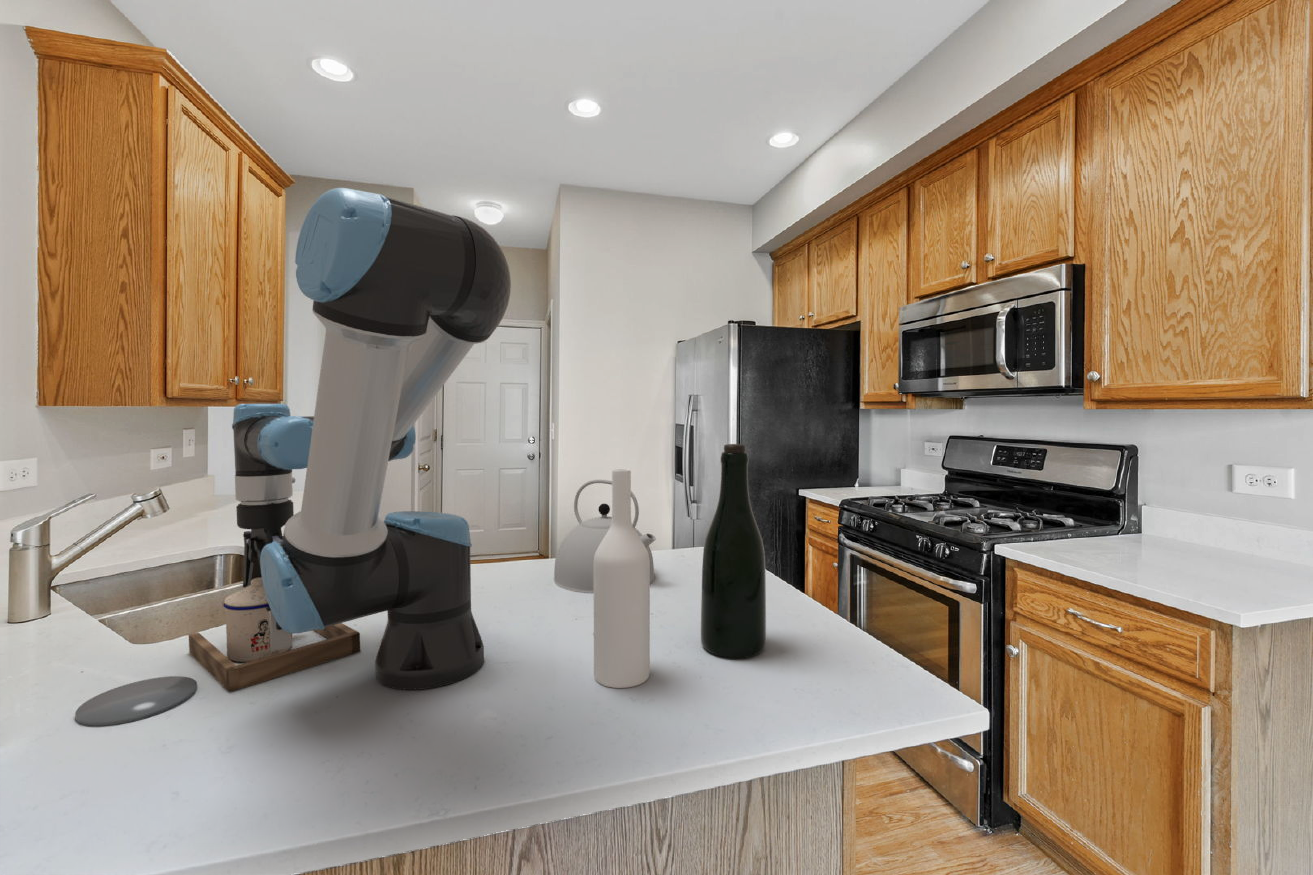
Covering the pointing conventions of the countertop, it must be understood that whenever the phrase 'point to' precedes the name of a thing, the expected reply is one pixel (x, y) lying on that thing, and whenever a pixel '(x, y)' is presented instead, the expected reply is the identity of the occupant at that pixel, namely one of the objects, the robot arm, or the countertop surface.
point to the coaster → (136, 701)
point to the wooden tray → (274, 658)
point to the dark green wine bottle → (733, 568)
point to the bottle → (621, 596)
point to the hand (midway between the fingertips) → (270, 640)
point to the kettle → (589, 547)
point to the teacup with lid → (248, 624)
